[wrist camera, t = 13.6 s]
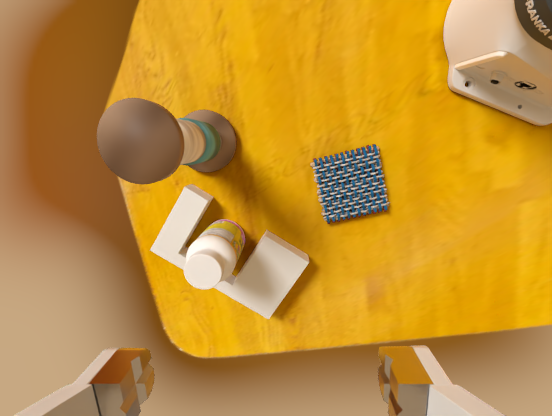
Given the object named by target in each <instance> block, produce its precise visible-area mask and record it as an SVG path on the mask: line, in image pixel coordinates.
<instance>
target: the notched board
mask: <svg viewBox="0 0 552 416" xmlns="http://www.w3.org/2000/svg"><path fill="white" fill-rule="evenodd" d="M212 199H213V196H211V195H209V194H208V193H206V192H204V191H203V190H201V189H200V188H198V187H196V186H195V185H193V184H190V185H188V186H185V187H184V189H183V191H182V193H181V195H180V197H179V198H178V200H177V202H176V204H175V206H174V207H173V209H172V211H171V213H170V215H169V217H168V218H167V220H166V222H165V224H164V226H163V228H162V229H161V231H160V233H159V235H158V237H157V239H156V240H155V242H154V244H153V246H152V248H151V250H150V251H152V252H154V253H155V254H157V255H159V256H161V257H162V258H164V259H166V260H168V261H169V262H171V263H173V264H174V265H176V266H178V267H180V268H181V269H183V270H184V266H185V264H186V254H187V251H188V248H187V247H185V246H186V244H187V242H188V240H189V239H190V237H191V235H192V234H193V232H194V230H195V228H196V227H197V225H198V223H199V221H200V220H201V218H202V216H203V215H204V213H205V211H206V209H207V208H208V206H209V204H210V202H211V201H212ZM308 264H309V257H308V255H307V254H306V253H304V252H302V251H301V250H299V249H298V248H296V247H294V246H293V245H291V244H289V243H288V242H286V241H285V240H283V239H281V238H280V237H278V236H276V235H275V234H273V233H271V232H270V231H268V230H266V232H265V233H264V235H263V236H262V238H261V239H260V241H259V243H258V244H257V246H256V247H255V249H254V250H253V252H252V253H251V255H250V256H249V258H248V259H247V261H246V262H245V264H244V266H243V267H242V269H241V270H240V272H239V273H238V275H237V276H234V275H232V274H231V275H230V276H229V277H228V278H227V279H225V280H224V281H222V282H219V283H218V284H217V285H216V286H215V287H214V288H216V289H217V290H219V291H221V292H222V293H224V294H226V295H228V296H229V297H231V298H233V299H234V300H236V301H238V302H240V303H241V304H243V305H245V306H246V307H248V308H250V309H252V310H253V311H255V312H257V313H259V314H260V315H262V316H264V317H265V318H267V319H269V318H270V317H271V315H272V314H273V312H274V311H275V310H276V308H277V307H278V305H279V304H280V303H281V301H282V300H283V299H284V297H285V296H286V294H287V293H288V292H289V290H290V289H291V287H292V286H293V285H294V283H295V282H296V280H297V279H298V278H299V276H300V275H301V273H302V272H303V271H304V269H305V268H306V266H307V265H308Z"/></svg>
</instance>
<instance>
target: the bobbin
mask: <svg viewBox="0 0 552 416" xmlns="http://www.w3.org/2000/svg"><path fill="white" fill-rule="evenodd" d="M97 143H98V148H99V151H100V154H101V156H102V158H103V160H104V162H105V163H106V165H107V166H108V167H109V168H110V169H111V171H113V172H114V173H115V174H116V175H117V176H119V177H120V178H122V179H124V180H126V181H128V182H131V183H135V184H150V183H154V182H157V181H160V180H163V179H165V178H167V177H169V176H170V175H171V174H173V173H174V172H175V171H176V169H177V168H178V167H179V165H188V166H189V167H191V168H193V169H195V170H197V171H201V172H213V171H217V170H219V169H221V168H223V167H225V166H226V165H227V164H228V163H229V162H230V161H231V159H232V158H233V156H234V154H235V151H236V144H237V141H236V135H235V132H234V129H233V127H232V126H231V124H230V123H229V121H228V120H227V119H226V118H224V117H223V116H222V115H220V114H218V113H215V112H213V111H209V110H198V111H194V112H192V113H190V114H188V115H187V116H185V117H184V118H179V119H176V118H175V117H174V116H173V115H172V114H171V113H170V112H169V111H168V110H167V109H165V108H164V107H163V106H161V105H159V104H157V103H154V102H151V101H148V100H144V99H139V98H127V99H123V100H120V101H118V102H116V103H114V104H112V105H111V106H110V107H109V108H108V109H107V110H106V111H105V112H104V114H103V115H102V117H101V119H100V122H99V125H98V129H97Z"/></svg>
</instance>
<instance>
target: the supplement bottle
mask: <svg viewBox="0 0 552 416" xmlns="http://www.w3.org/2000/svg"><path fill="white" fill-rule="evenodd" d="M244 245H245V235H244V232H243V230H242V228H241V227H240V226H239V225H238V224H237V223H235V222H234V221H231V220H227V219H221V220H217V221H215V222H213V223H212V224H211V225H210V226H208V228H207V229H206V230H205V231H204V232H203V233H202V234H201V235H200V236H199V237H198V238H197V239H196V240H195V241H194V242H193V243H192V244H191V245H190V247H189V249H188V251H187V254H186V264H185V266H184V275H185V277H186V279H187V281H188V282H189V283H190V284H191V285H192V286H194V287H196V288H198V289H210V288H213V287H215V286H216V285H217V284H218V283H219V282H222V281H224V280H225V279H227V278H228V277H229V276H230V275H231V273H232V272H233V270H234V268H235V266H236V263H237V261H238V259H239V257H240V254H241V252H242V250H243V248H244Z"/></svg>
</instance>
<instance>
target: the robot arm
mask: <svg viewBox="0 0 552 416" xmlns="http://www.w3.org/2000/svg"><path fill="white" fill-rule="evenodd" d="M444 45H445V50H446V53H447V57H448V60H449V72H448V86H449V88H450V89H451V90H452V91H454V92H456V93H459V94H461V95H464V96H466V97H468V98H471V99H473V100H476V101H478V102H481V103H483V104H486V105H488V106H490V107H493V108H495V109H498V110H500V111H503V112H505V113H507V114H510V115H512V116H515V117H517V118H520V119H522V120H525V121H527V122H529V123H532V124H534V125H538V126H543V125H548V124H550V123H552V0H452V2H451V4H450V6H449V9H448V12H447V15H446V18H445V23H444ZM466 82H467V83H468V87H466V86H465V83H466ZM151 358H152V357H151V353H150V350H149V349H147V348H107V349H105V350H103V351H102V352H101V353H100V354H99V356H98V357H97V358H96V359H95V360H94V361H93V362H92V363H91V364H90V365H89V366H88V368H87V369H86V370H85V371H84V372H83V373H82V374H81V375H80V376H79V378H78V379H77V380H76V381H75V382H74V383H73V384H68V385H66V386H64V387H62V388H61V389H59V390H57V391H55V392H54V393H52V394H50V395H49V396H47V397H45V398H43V399H42V400H40V401H38V402H37V403H35V404H33V405H31V406H29V407H28V408H26V409H24V410H23V411H21V412H19V413H17V414H15V415H14V416H138V415H139V413H140V412H141V410H140V404H142V403H143V402H144V401H146V400H147V399H148V397H149V395H150V393H151V391H152V388H153V384H154V376H155V374H154V368H153V367H152V366H151V365H150V364H149V361H150V360H151ZM379 359H380V362H381V365H380V366H379V368H378V380H379V387H380V391H381V394H382V397H383V400H384V401H385V402H386V403H387V404H388V414H389V416H505V415H504V414H502V413H501V412H499V411H498V410H496V409H494V408H493V407H491V406H490V405H488V404H487V403H485V402H484V401H482V400H481V399H479V398H477V397H476V396H475V395H473V394H471V393H470V392H468V391H467V390H465V389H464V388H462V387H461V386H459V385H453V384H452V382H451V381H450V379H449V378H448V377H447V375H446V373H445V372H444V370H443V369H442V368H441V366H440V364H439V363H438V362H437V360H436V359H435V357H434V356H433V354H432V353H431V351H430V350H429V348H428V347H426V346H425V345H422V346H395V347H394V346H393V347H380V348H379Z"/></svg>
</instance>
